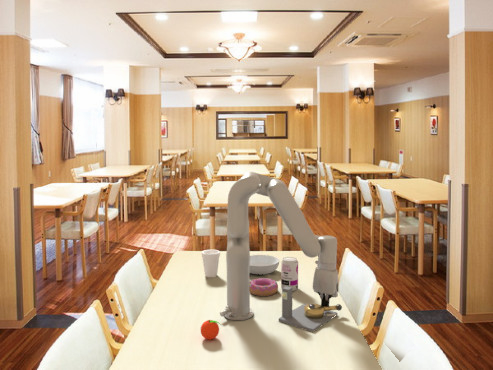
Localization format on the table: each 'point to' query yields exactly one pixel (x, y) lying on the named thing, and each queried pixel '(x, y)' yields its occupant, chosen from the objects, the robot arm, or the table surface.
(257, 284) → the donut
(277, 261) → the serving bowl
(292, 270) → the white soda can
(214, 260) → the foam cup
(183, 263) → the table surface
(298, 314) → the stand
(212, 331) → the clementine
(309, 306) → the gold pan with handle
